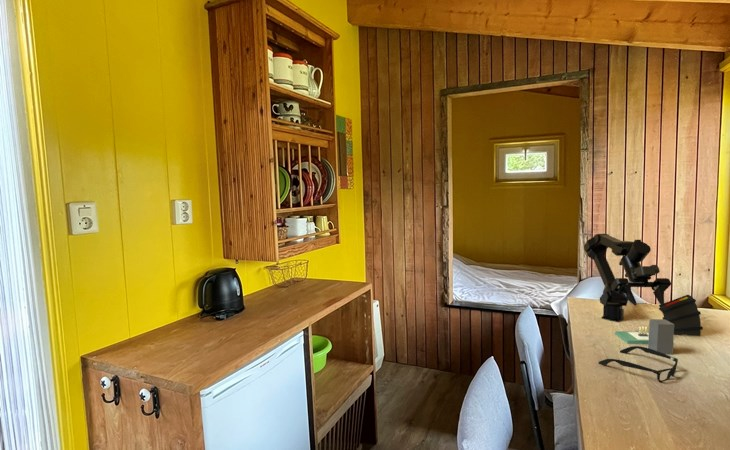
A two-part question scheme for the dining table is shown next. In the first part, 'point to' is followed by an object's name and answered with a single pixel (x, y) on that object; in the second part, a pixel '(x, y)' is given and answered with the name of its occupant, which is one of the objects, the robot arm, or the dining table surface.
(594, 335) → the dining table surface
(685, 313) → the magazine
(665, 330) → the block
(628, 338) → the board
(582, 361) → the dining table surface
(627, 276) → the robot arm
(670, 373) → the glasses
